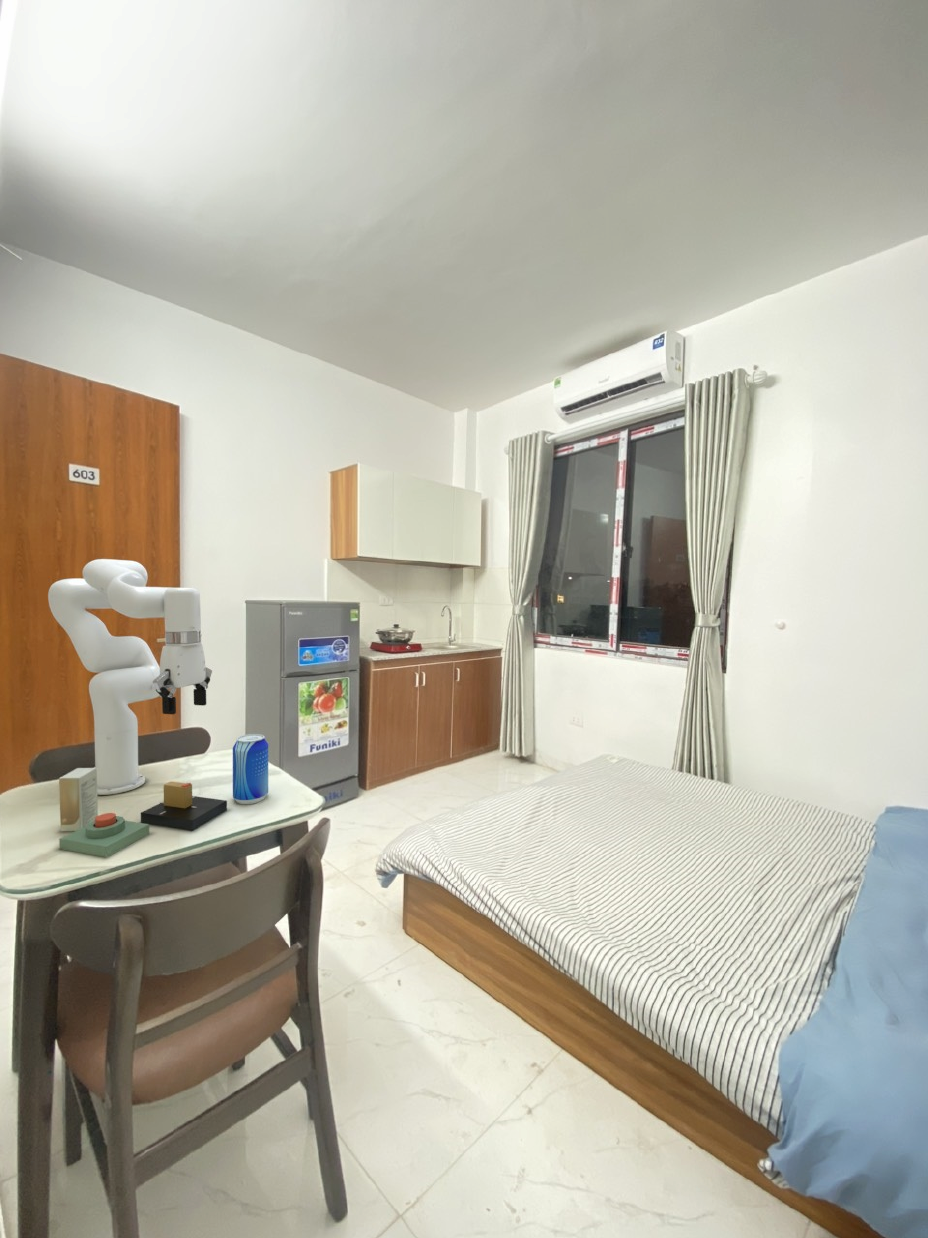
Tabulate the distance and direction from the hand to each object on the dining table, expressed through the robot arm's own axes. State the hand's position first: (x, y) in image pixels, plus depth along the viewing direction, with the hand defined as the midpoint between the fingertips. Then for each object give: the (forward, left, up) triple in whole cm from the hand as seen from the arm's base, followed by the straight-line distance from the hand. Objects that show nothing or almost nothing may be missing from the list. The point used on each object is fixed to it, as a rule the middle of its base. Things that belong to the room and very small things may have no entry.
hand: (185, 709), depth 120 cm
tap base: (+3, -4, -25) cm, 25 cm away
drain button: (-4, -18, -21) cm, 28 cm away
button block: (-4, -18, -25) cm, 31 cm away
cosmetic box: (-16, -14, -25) cm, 32 cm away
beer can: (+11, +9, -25) cm, 29 cm away
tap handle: (+1, -4, -22) cm, 22 cm away
